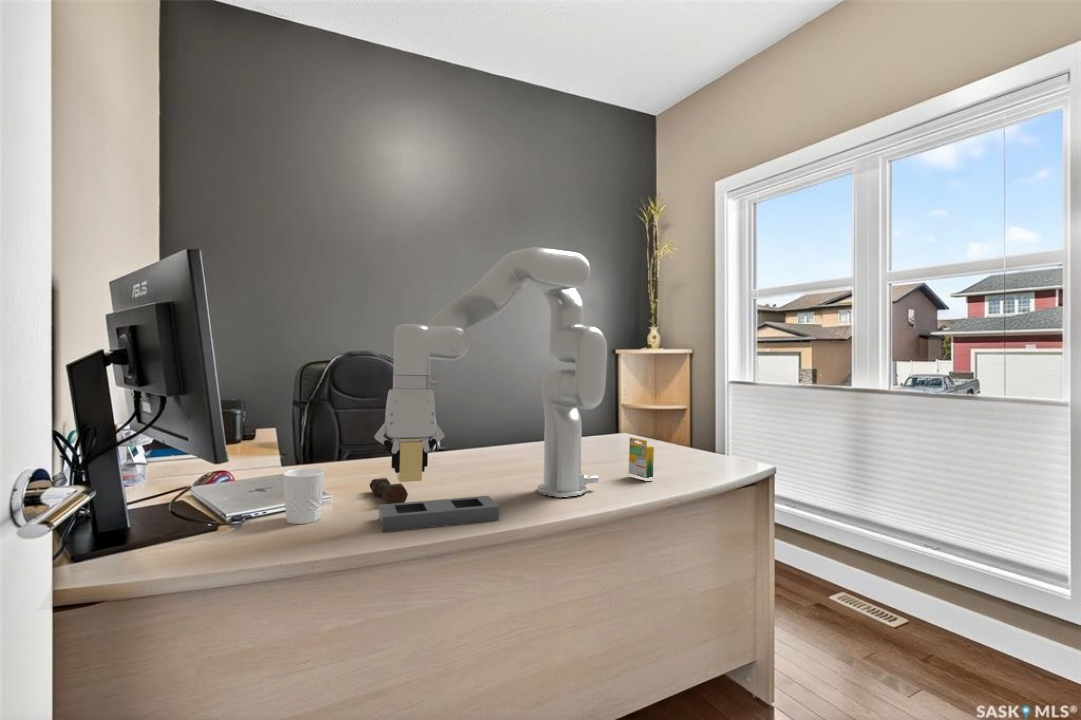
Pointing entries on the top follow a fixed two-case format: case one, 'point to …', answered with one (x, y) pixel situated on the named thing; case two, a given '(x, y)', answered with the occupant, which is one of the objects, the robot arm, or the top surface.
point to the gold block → (410, 460)
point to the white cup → (303, 495)
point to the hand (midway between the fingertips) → (409, 470)
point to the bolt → (388, 491)
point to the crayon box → (641, 458)
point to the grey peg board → (437, 513)
